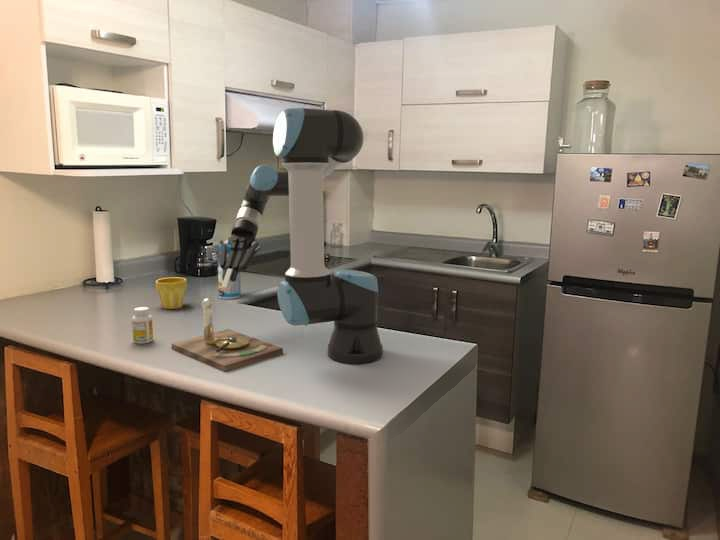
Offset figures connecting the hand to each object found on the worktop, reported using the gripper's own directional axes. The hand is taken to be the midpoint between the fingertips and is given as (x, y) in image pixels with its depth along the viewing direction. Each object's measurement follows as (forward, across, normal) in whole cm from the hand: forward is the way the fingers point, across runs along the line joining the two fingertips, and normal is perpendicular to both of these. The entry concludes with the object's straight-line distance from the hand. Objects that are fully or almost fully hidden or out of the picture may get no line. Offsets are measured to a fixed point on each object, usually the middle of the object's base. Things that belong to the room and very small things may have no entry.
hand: (225, 289), depth 169 cm
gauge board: (+18, -5, -3) cm, 19 cm away
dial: (+16, -4, -2) cm, 17 cm away
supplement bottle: (+16, +22, -5) cm, 28 cm away
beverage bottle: (-23, +20, -44) cm, 54 cm away
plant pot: (-9, +34, -31) cm, 47 cm away
